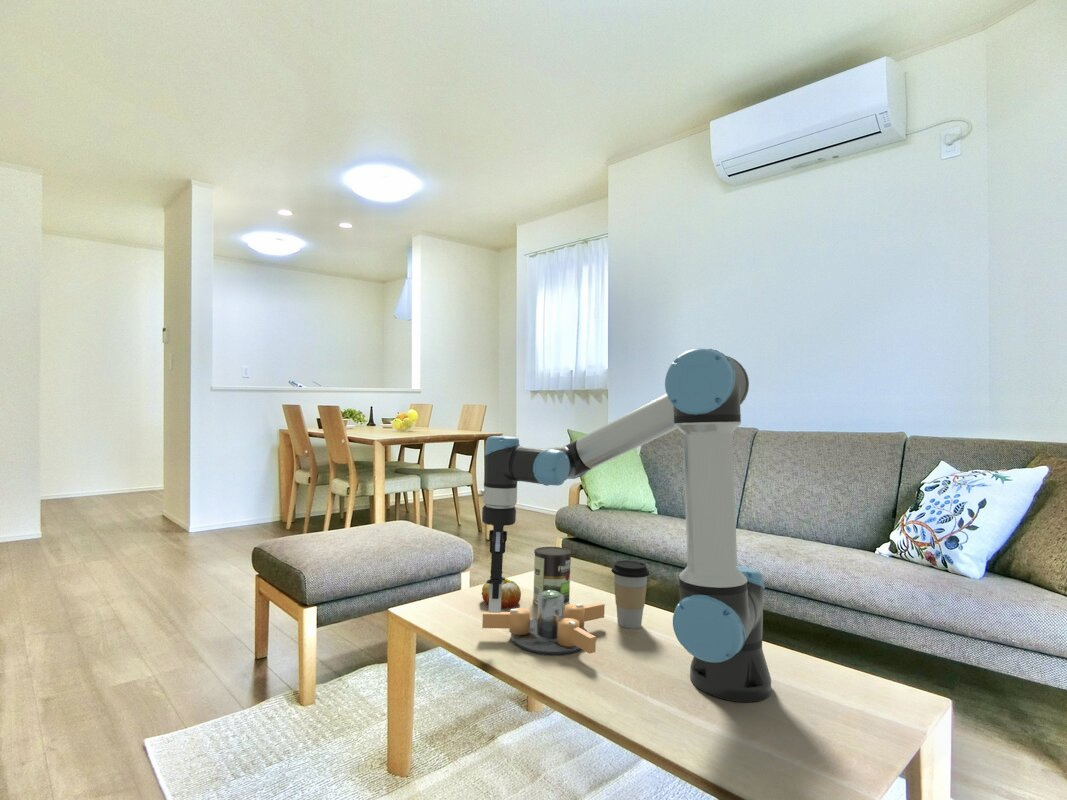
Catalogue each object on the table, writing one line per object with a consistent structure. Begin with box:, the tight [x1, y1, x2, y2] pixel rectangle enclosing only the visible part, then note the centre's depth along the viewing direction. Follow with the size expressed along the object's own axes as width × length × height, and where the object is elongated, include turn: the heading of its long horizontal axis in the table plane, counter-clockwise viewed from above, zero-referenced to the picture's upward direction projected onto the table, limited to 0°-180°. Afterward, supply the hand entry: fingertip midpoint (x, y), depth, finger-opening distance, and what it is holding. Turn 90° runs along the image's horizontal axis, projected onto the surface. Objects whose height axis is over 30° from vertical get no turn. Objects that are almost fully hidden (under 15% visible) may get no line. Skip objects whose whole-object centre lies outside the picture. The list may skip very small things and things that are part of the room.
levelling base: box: [510, 590, 589, 657], centre depth 131 cm, size 18×18×11 cm
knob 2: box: [563, 601, 606, 629], centre depth 136 cm, size 11×5×5 cm, turn 123°
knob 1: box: [481, 607, 532, 635], centre depth 130 cm, size 11×5×5 cm, turn 93°
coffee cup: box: [611, 559, 650, 629], centre depth 142 cm, size 9×9×15 cm
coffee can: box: [532, 546, 572, 607], centre depth 157 cm, size 10×10×14 cm
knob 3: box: [557, 617, 597, 654], centre depth 122 cm, size 11×5×5 cm, turn 33°
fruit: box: [481, 577, 522, 610], centre depth 155 cm, size 11×10×8 cm
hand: (494, 611), depth 126 cm, fingers closed
